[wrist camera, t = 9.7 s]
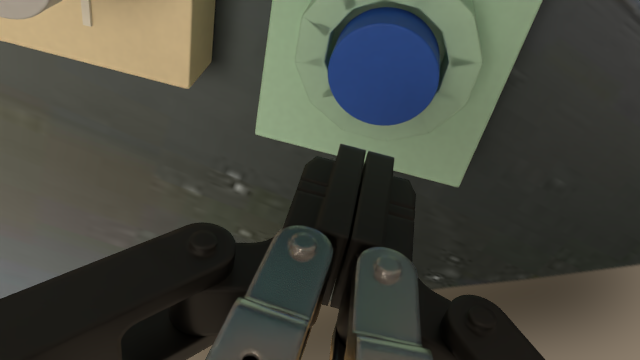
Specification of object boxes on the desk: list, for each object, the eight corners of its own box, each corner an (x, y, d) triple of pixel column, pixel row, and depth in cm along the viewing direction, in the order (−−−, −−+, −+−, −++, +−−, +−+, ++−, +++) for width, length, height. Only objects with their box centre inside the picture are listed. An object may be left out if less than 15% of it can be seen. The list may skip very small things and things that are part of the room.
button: (346, -6, 19) (339, 10, 18) (454, 21, 19) (455, 39, 18) (326, 90, 22) (318, 111, 20) (421, 115, 22) (420, 137, 20)
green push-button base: (305, -162, 20) (279, -152, 17) (569, -97, 19) (594, -75, 16) (266, 112, 27) (243, 155, 24) (457, 162, 27) (459, 212, 24)
